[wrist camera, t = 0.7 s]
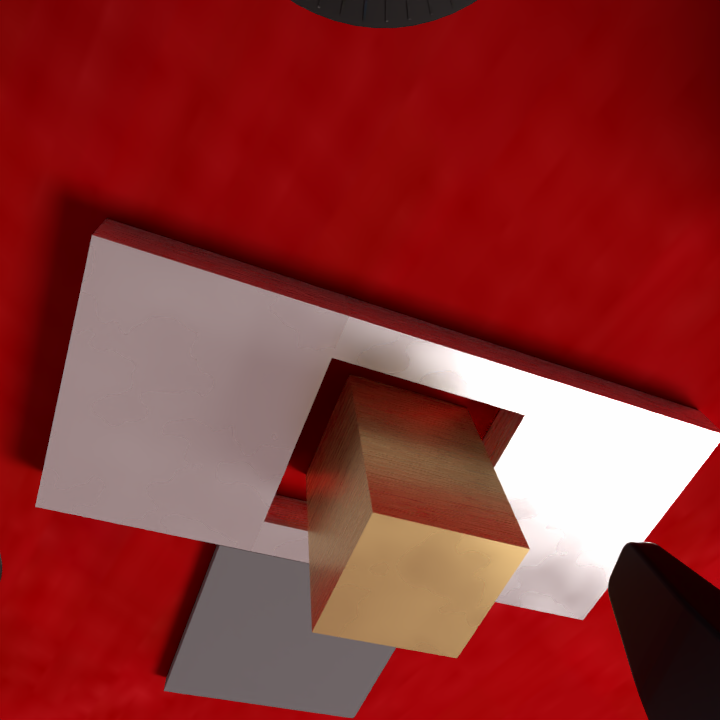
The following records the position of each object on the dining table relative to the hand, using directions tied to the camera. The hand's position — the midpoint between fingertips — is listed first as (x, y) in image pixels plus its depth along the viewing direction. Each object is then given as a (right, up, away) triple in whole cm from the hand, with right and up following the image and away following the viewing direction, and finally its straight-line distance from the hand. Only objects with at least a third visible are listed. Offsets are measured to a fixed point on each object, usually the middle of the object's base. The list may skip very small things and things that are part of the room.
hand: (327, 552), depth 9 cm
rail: (+1, 0, +15) cm, 15 cm away
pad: (-2, -9, +19) cm, 21 cm away
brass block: (+1, 0, +15) cm, 15 cm away
